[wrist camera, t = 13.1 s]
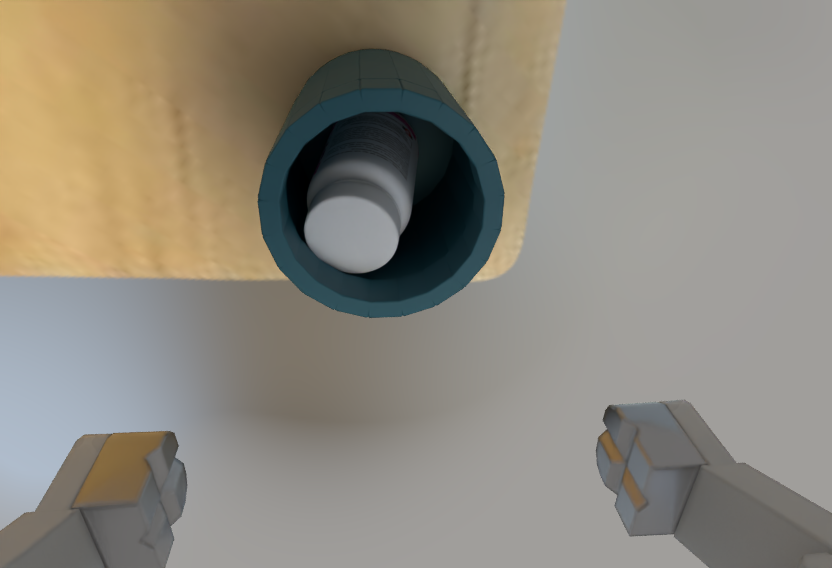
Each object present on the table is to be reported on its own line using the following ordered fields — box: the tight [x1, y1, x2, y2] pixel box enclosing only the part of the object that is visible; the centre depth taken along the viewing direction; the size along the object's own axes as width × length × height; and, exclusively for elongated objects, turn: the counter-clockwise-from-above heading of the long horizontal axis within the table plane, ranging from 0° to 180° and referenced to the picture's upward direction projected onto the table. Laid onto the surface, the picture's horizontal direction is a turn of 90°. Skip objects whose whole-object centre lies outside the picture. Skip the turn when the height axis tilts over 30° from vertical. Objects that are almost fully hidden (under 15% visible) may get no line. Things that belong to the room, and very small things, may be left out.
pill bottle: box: [304, 112, 418, 273], centre depth 26 cm, size 5×5×8 cm
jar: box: [258, 49, 504, 318], centre depth 26 cm, size 9×9×11 cm
